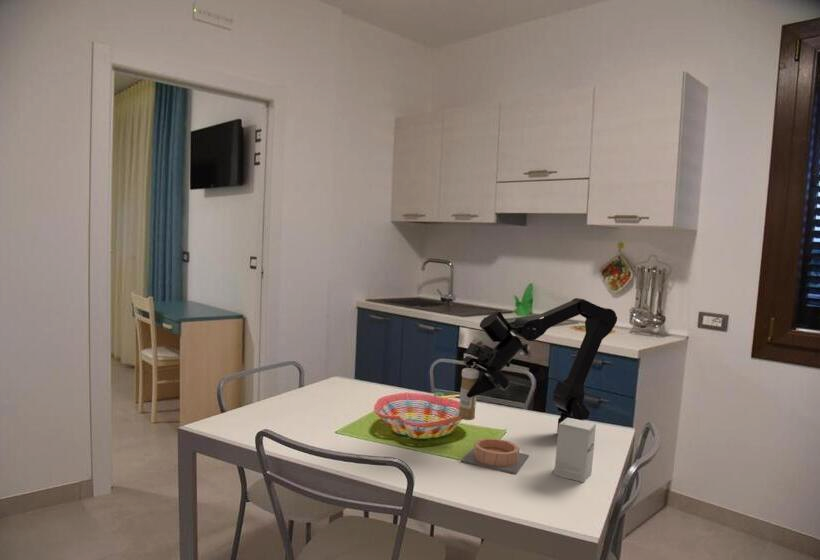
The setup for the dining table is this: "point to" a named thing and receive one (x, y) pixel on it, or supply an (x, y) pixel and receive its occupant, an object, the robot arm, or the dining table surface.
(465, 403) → the sprinkles bottle
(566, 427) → the supplement box
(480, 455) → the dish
